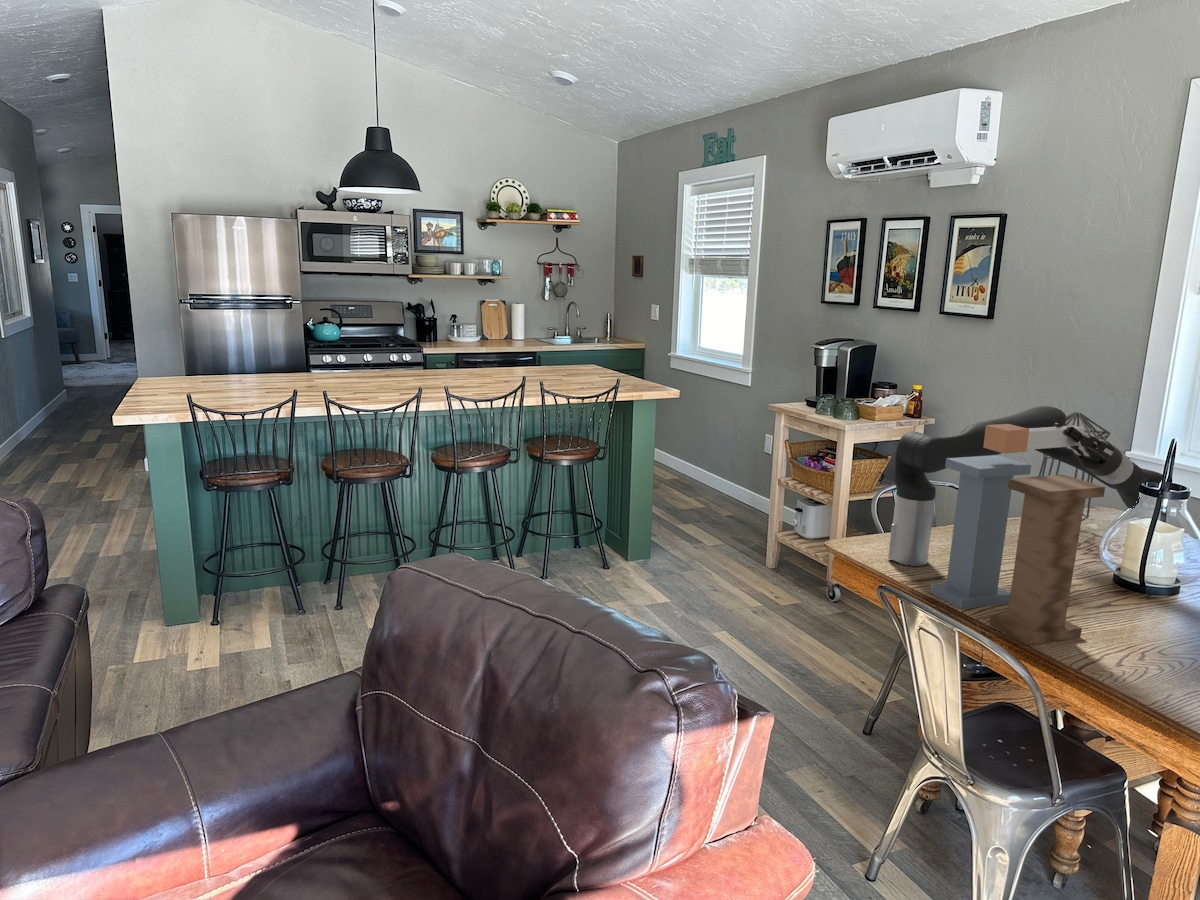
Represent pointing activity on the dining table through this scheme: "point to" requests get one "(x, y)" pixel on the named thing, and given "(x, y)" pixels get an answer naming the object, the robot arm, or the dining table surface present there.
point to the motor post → (979, 531)
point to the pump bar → (1026, 438)
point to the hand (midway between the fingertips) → (1061, 428)
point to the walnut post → (1045, 558)
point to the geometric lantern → (1068, 417)
